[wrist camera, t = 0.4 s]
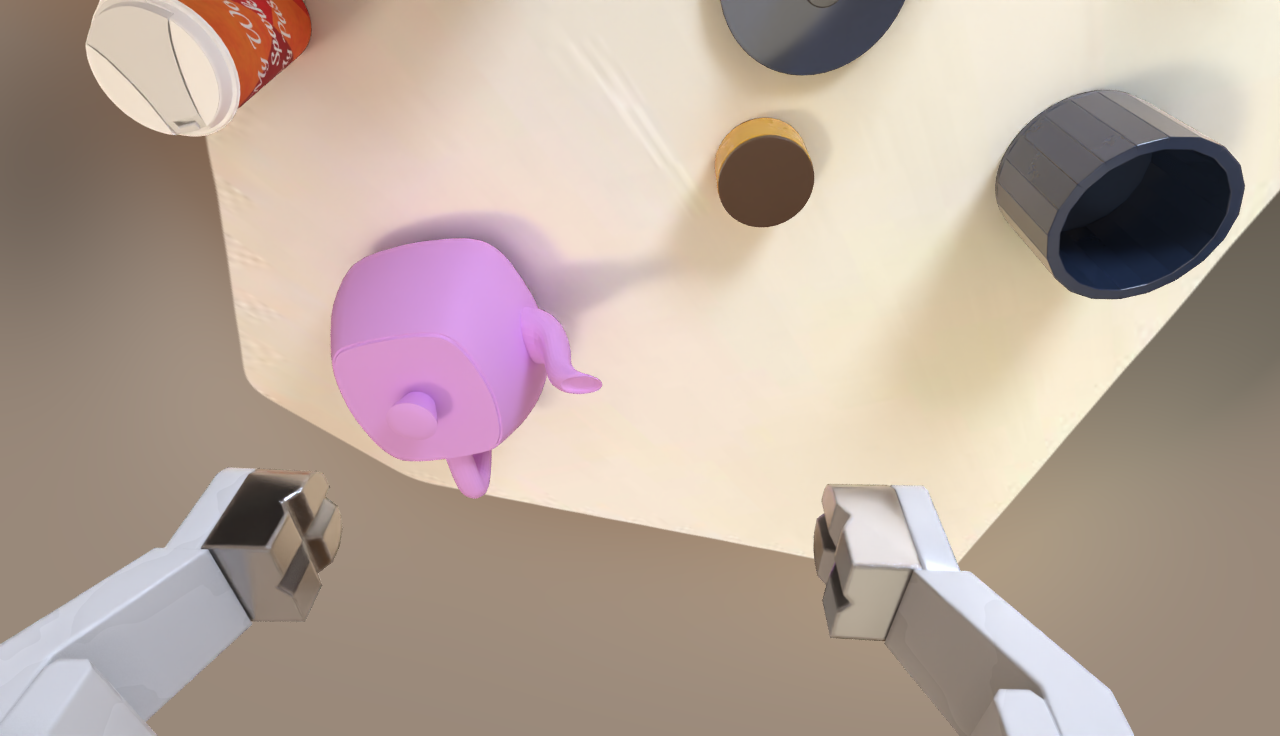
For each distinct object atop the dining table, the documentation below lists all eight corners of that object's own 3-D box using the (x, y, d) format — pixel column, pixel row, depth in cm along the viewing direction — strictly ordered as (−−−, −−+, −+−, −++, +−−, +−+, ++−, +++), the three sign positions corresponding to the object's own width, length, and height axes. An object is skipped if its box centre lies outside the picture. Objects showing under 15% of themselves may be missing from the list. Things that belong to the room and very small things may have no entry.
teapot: (427, 422, 72) (379, 541, 60) (330, 242, 59) (245, 347, 47) (643, 391, 68) (638, 511, 56) (589, 193, 56) (568, 293, 44)
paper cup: (347, 60, 50) (256, 127, 39) (253, 85, 51) (139, 157, 40) (289, -64, 45) (167, -28, 34) (187, -33, 46) (38, 11, 35)
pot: (1025, 88, 50) (1088, 135, 42) (1190, 90, 49) (1283, 138, 42) (975, 235, 57) (1022, 297, 49) (1120, 238, 56) (1188, 301, 49)
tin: (718, 116, 51) (721, 135, 48) (813, 118, 51) (822, 137, 48) (711, 204, 56) (714, 227, 53) (799, 206, 56) (807, 229, 52)
